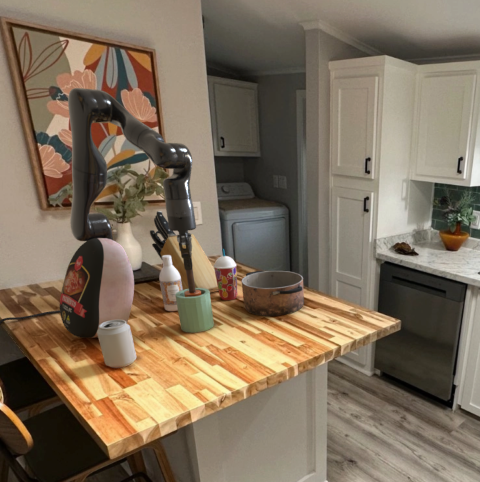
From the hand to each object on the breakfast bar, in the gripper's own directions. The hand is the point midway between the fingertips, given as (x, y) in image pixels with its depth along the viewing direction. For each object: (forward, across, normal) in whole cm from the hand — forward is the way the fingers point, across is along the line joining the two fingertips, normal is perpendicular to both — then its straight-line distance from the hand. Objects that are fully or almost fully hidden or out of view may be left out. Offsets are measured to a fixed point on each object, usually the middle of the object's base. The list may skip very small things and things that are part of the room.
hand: (188, 268), depth 130 cm
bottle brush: (+13, 0, 0) cm, 13 cm away
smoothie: (+21, -26, +11) cm, 35 cm away
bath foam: (+21, -20, -8) cm, 30 cm away
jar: (+20, 0, 0) cm, 20 cm away
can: (+20, +20, -19) cm, 34 cm away
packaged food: (+21, -4, -27) cm, 34 cm away
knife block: (+21, -46, -4) cm, 50 cm away
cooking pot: (+20, -12, +27) cm, 36 cm away
